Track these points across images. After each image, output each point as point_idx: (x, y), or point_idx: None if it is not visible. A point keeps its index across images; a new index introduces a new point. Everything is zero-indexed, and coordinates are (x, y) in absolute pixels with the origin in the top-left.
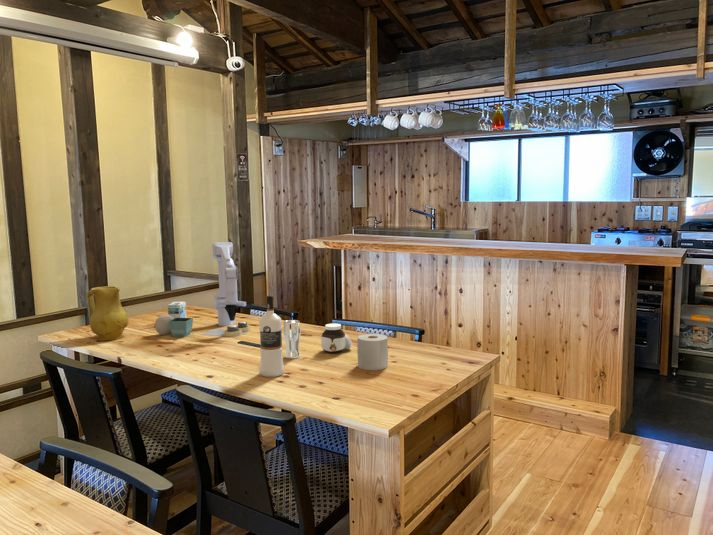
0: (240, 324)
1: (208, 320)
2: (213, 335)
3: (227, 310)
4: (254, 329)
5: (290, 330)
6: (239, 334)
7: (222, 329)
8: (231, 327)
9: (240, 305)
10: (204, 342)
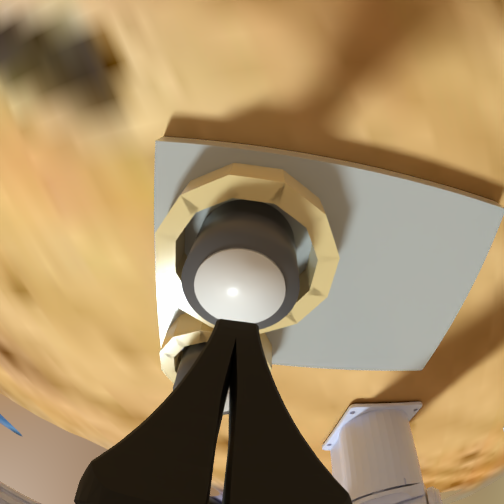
0: None
1: (440, 451)
2: (411, 188)
3: (282, 455)
4: None
5: None
6: (164, 217)
7: (375, 359)
8: (233, 247)
9: (18, 498)
10: (425, 29)
